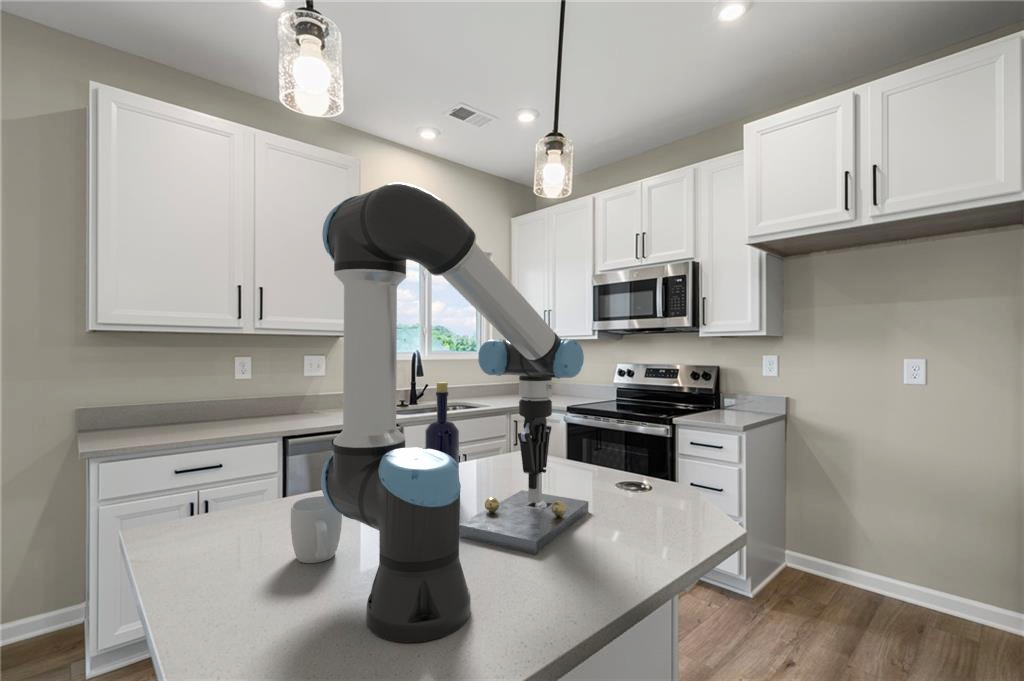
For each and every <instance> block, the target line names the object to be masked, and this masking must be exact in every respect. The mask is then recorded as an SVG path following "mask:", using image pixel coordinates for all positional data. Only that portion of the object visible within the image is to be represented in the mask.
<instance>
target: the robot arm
mask: <svg viewBox="0 0 1024 681" xmlns="http://www.w3.org/2000/svg"><path fill="white" fill-rule="evenodd" d="M321 232H322V233H321V234H322V243H323V246H324V249H325V251H326V254H328V255H329V256H330V258H331V260H332V261H333V262H334V263H333V270H334V271H333V272H334V274H333V275H334V276H335V277H336V278H337V279H338V280H339V281H340V282H341V284H342V285H343V378H342V379H343V383H342V384H343V388H342V389H343V392H342V394H343V395H342V396H343V398H342V400H343V402H342V403H343V405H342V406H343V408H342V409H343V410H342V412H343V413H342V416H343V417H342V420H343V421H342V425H343V426H342V430H341V431H340V433H339V434H337V436H336V437H335V438H334V439H333V442H332V453H330V455H329V458H328V459H327V460H326V461H325V463H324V464H323V467H322V470H321V476H320V487H321V488H320V489H321V491H322V496H324V497H325V499H326V500H327V502H328V503H329V504H330V505H331V506H332V507H333V508H334V509H336V510H337V511H338V512H339V513H341V514H342V517H345V518H347V519H349V520H355V521H357V522H359V523H362V524H364V525H366V526H368V527H370V528H373V529H375V530H377V531H378V532H379V533H378V534H379V539H378V540H379V542H378V543H379V544H378V546H379V553H378V554H379V558H378V560H379V563H378V567H377V570H376V572H375V576H374V580H373V583H372V586H371V590H370V593H369V596H368V598H367V602H366V610H365V611H366V613H365V614H366V616H365V617H366V618H365V620H366V625H367V627H368V629H369V630H370V631H371V632H372V633H374V635H376V636H378V637H379V638H382V639H384V640H388V641H392V642H396V643H398V642H399V643H422V642H427V641H429V642H430V641H433V640H437V639H440V638H443V637H445V636H448V635H450V634H452V633H454V632H455V631H457V630H458V629H460V628H461V627H462V626H464V624H466V622H467V621H468V619H469V617H470V615H471V603H472V602H471V599H472V598H471V592H470V589H469V587H468V584H467V581H466V578H465V574H464V571H463V567H462V563H461V560H460V537H459V526H460V524H461V523H460V522H461V518H460V517H461V516H460V515H461V511H460V510H461V492H462V490H461V488H462V485H461V482H460V471H459V470H460V468H459V469H458V465H457V463H456V461H455V460H454V459H453V458H452V457H451V456H449V455H448V454H446V453H443V452H440V451H437V450H433V449H425V448H422V447H416V446H415V447H414V446H413V447H406V436H405V435H404V433H402V432H401V431H400V430H399V429H398V428H397V361H398V360H397V359H398V358H397V353H398V352H397V351H398V350H397V349H398V348H397V345H398V343H397V342H398V340H397V339H398V338H397V335H398V334H397V328H398V326H397V325H398V324H397V322H398V320H397V317H398V315H397V313H398V312H397V311H398V307H397V306H398V300H397V297H398V286H399V285H400V284H401V283H403V281H404V280H405V279H406V278H407V261H411V262H415V263H417V264H419V265H421V266H422V267H423V268H425V269H426V271H428V272H429V273H430V274H431V275H432V276H435V277H436V276H437V277H439V276H441V277H443V279H445V280H446V281H447V282H448V283H449V284H450V285H451V286H452V287H453V288H454V289H455V290H456V291H457V292H458V293H459V294H460V295H461V296H462V297H463V298H464V299H465V300H466V301H467V302H468V303H469V304H470V305H471V306H472V307H473V308H474V309H475V310H476V311H477V312H478V313H480V315H481V316H482V317H483V318H484V319H485V320H486V321H487V322H488V323H489V324H490V325H492V327H493V328H495V329H496V331H498V333H500V335H502V336H503V338H505V339H501V338H495V339H489V340H486V341H485V342H483V344H482V345H481V346H480V347H479V350H478V357H477V358H478V360H477V361H478V364H479V367H480V369H481V371H482V372H484V374H486V375H488V376H496V377H497V376H500V377H501V376H519V378H518V381H519V382H518V396H519V398H520V399H519V401H518V415H519V416H521V417H523V418H524V421H523V430H522V431H521V432H517V438H518V441H519V448H520V454H521V464H522V465H521V466H522V471H523V474H528V484H527V485H528V486H527V487H528V488H527V489H528V490H527V491H528V502H533V503H541V502H542V494H543V493H542V492H543V474H544V473H545V474H546V472H547V469H546V468H547V466H548V456H549V447H550V446H549V445H550V436H551V431H552V426H551V425H547V423H548V422H547V418H550V416H552V414H553V410H552V409H553V401H552V400H551V399H550V398H551V397H552V396H553V395H552V390H553V389H554V385H553V384H552V382H553V378H554V379H572V378H575V377H577V376H578V375H579V374H580V372H581V371H582V368H583V365H584V360H585V356H584V350H583V347H582V345H581V344H580V343H579V342H578V341H576V340H575V339H568V338H561V337H559V335H558V334H557V333H556V332H555V331H554V330H553V329H552V327H550V325H549V324H548V323H547V322H546V321H545V320H544V318H542V316H541V315H540V314H539V313H538V312H537V311H536V310H535V308H534V307H533V306H532V305H531V304H530V303H529V301H527V299H526V298H525V297H524V296H523V294H521V292H519V290H518V289H517V288H516V287H515V285H513V283H512V282H510V280H509V279H508V278H507V277H506V276H505V275H504V273H503V272H502V271H501V270H500V269H499V268H498V267H497V265H496V264H495V263H494V262H493V261H492V260H491V258H490V257H488V255H487V254H486V253H485V252H484V251H483V250H482V249H481V247H480V245H478V244H477V243H476V241H477V234H476V232H475V231H474V230H473V229H472V227H471V226H470V225H469V224H468V223H467V222H466V221H465V220H464V219H463V218H462V217H461V215H459V214H458V213H457V211H455V210H454V209H453V208H452V207H451V206H450V205H448V204H447V203H445V202H444V201H443V200H442V199H441V198H439V197H437V196H436V195H435V194H433V193H431V192H429V191H427V190H426V189H424V188H421V187H418V186H416V185H413V184H409V183H405V182H393V183H388V184H384V185H383V186H380V187H378V188H375V189H372V190H370V191H367V192H366V193H363V194H362V193H361V194H360V195H354V196H353V195H352V196H351V197H349V198H345V199H344V200H343V201H341V202H340V203H339V204H337V205H336V206H335V207H333V208H332V209H331V210H330V211H329V213H328V215H327V216H326V218H325V220H324V222H323V227H322V231H321Z"/></svg>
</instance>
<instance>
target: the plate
mask: <svg viewBox="0 0 1024 681" xmlns="http://www.w3.org/2000/svg"><path fill="white" fill-rule="evenodd" d="M542 501H544V502H545V503H546V504H547V505H548V507H547V508H545V509H542V508H536V507H535V504H536V503H533V502H528V490H520V491H517V492H516V493H514V494H512V495H511V496H509V497H506V498H505V499H503V500H501V501H498V502H499V508H498V510H497V511H495V512H488V511H487V510H486V509H485V510H483V511H481V512H479V513H477V514H476V515H474V516H471V517H470V518H468V519H466V520H464V521H462V522H461V523H460V526H459V538H463V539H466V540H467V539H468V540H471V541H474V542H475V541H476V542H480V543H485V544H488V545H492V546H495V547H501V548H505V549H509V550H515V551H519V552H522V553H528V554H532V555H534V556H535V555H536V556H537V555H539V553H541V552H542V551H543V550H544V549H545V548H547V547H548V546H549V545H550V544H551V543H552V542H554V541H555V540H556V539H558V538H559V537H560V536H562V535H563V533H565V532H566V531H567V530H569V528H571V527H572V526H573V525H574V524H576V523H577V522H578V521H579V520H580V519H582V518H583V517H584V516H585V515H586V514H587V513H589V501H588V500H583V499H577V498H571V497H566V496H565V497H564V496H558V495H553V494H552V495H551V494H545V493H542ZM556 501H561V502H563V503H564V504H565V506H566V512H565V514H564V515H563V516H560V517H558V516H555V515H554V514H553V513H552V509H551V508H552V505H553V503H554V502H556Z"/></svg>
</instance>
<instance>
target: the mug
mask: <svg viewBox="0 0 1024 681" xmlns="http://www.w3.org/2000/svg"><path fill="white" fill-rule="evenodd" d="M342 521H343V515H342V514H341V513H339V512H338V511H337V510H336V509H334V508H333V507H332V506H331V505H330V504H329V503H328V502H327V500H326V499H325V497H324V495H321V496H312V497H306V498H301V499H299V500H297V501H295V502H293V503H292V505H291V507H290V531H291V533H290V534H291V542H292V547H293V551H294V555H295V557H296V558H297V560H298V562H300V563H303V564H317V563H318V564H319V563H322V562H326V561H328V560H330V559H332V558H333V557H334V556H335V555H336V552H337V551H338V547H339V542H340V538H341V532H342V523H343V522H342Z"/></svg>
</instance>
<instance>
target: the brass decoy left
mask: <svg viewBox="0 0 1024 681" xmlns="http://www.w3.org/2000/svg"><path fill="white" fill-rule="evenodd" d="M499 502H500V501H499V500H498V499H497V498H496V497H488V498H487V499H486V500H485V503H484V508H485V510H487V511H488V512H495V511H497V510H498V508H499Z"/></svg>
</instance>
